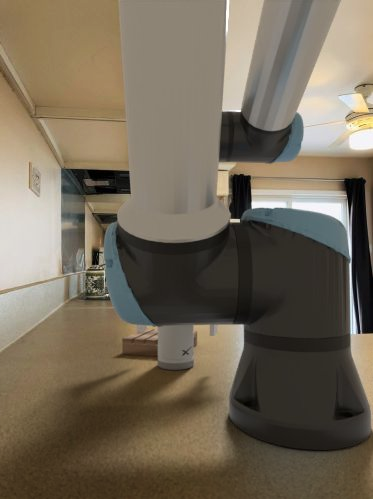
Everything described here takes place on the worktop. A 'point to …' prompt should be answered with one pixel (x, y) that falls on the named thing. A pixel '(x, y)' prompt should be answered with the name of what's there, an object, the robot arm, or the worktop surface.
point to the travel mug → (176, 347)
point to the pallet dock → (144, 343)
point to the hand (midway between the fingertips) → (176, 332)
